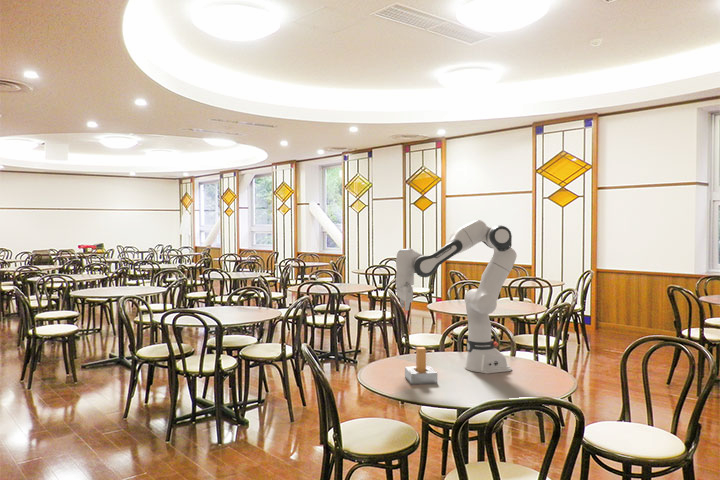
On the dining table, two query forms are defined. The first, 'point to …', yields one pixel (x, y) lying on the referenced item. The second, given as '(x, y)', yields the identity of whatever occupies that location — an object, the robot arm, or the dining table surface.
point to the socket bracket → (421, 375)
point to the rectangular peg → (420, 359)
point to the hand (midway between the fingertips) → (404, 308)
